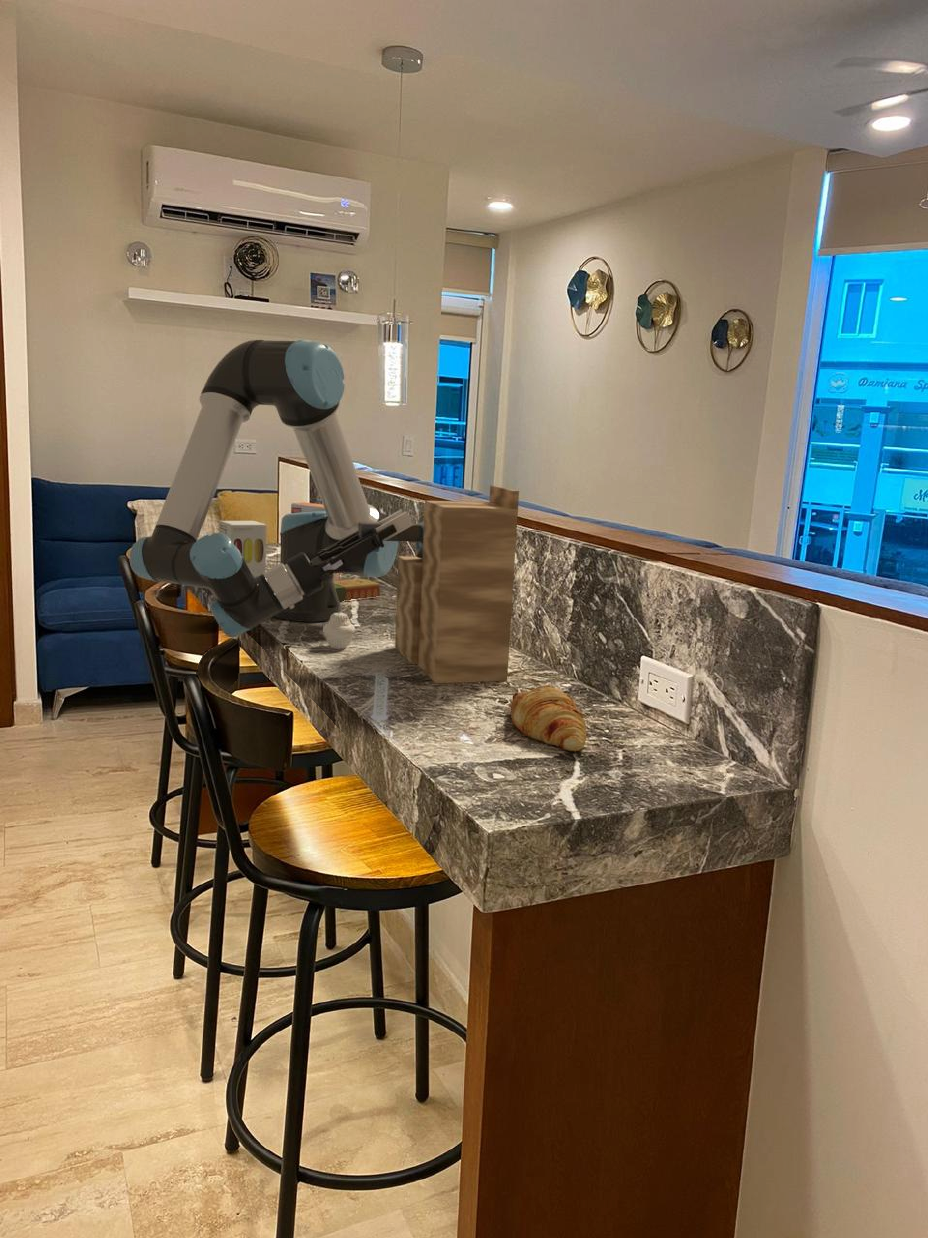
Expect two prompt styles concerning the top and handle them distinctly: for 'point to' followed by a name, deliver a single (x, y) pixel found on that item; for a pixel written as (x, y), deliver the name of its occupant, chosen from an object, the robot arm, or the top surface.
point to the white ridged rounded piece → (338, 631)
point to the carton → (356, 589)
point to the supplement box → (248, 542)
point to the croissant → (549, 717)
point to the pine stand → (460, 590)
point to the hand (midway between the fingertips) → (406, 517)
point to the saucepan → (410, 534)
